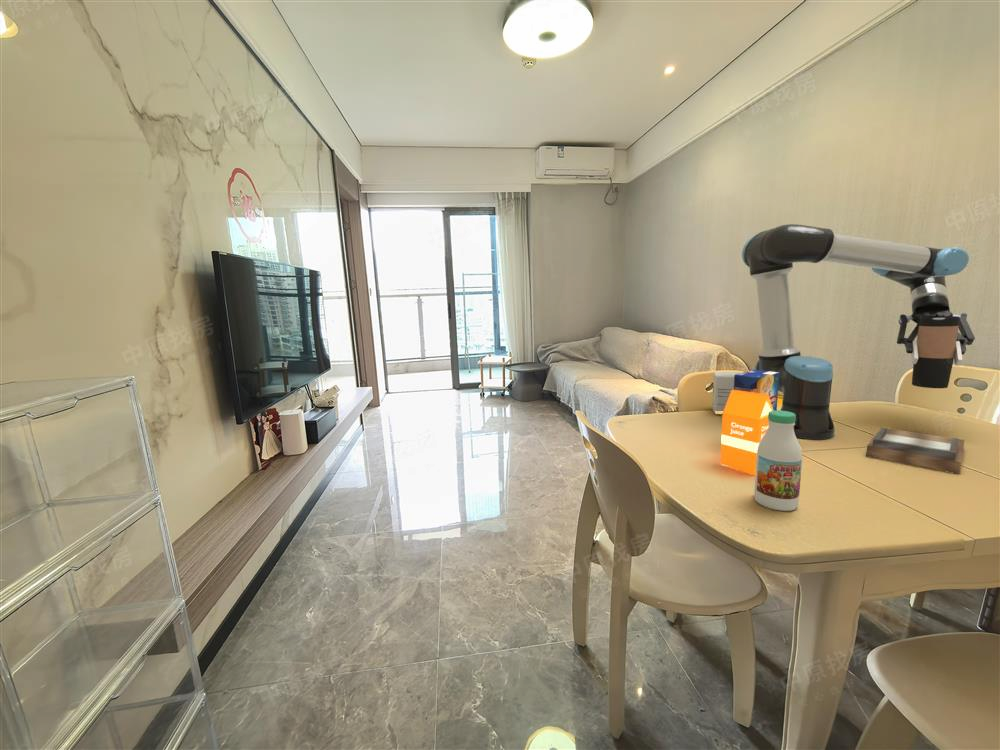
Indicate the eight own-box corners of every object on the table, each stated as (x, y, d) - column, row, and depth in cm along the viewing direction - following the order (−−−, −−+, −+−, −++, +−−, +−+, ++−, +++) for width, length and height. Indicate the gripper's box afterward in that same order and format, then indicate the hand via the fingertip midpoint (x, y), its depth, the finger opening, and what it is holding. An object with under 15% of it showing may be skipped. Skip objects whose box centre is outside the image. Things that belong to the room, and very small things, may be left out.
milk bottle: (745, 495, 86) (750, 409, 82) (778, 492, 86) (784, 406, 83) (772, 513, 78) (779, 419, 75) (808, 510, 79) (816, 416, 75)
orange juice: (755, 476, 95) (760, 397, 91) (719, 465, 102) (723, 391, 99) (771, 467, 99) (776, 392, 95) (735, 457, 106) (739, 387, 103)
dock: (865, 456, 102) (868, 438, 101) (880, 434, 116) (882, 418, 115) (959, 474, 90) (962, 453, 89) (963, 447, 104) (966, 429, 103)
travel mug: (930, 382, 116) (940, 315, 112) (957, 388, 108) (969, 316, 105) (902, 383, 117) (911, 317, 113) (927, 389, 109) (938, 318, 106)
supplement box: (711, 408, 153) (713, 371, 150) (738, 410, 149) (740, 372, 146) (714, 415, 144) (715, 376, 142) (742, 416, 141) (744, 376, 138)
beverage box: (774, 446, 112) (779, 372, 109) (756, 455, 107) (761, 377, 103) (749, 440, 118) (753, 369, 114) (730, 448, 112) (734, 374, 108)
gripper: (976, 309, 114) (987, 371, 105) (880, 311, 127) (883, 367, 117) (986, 291, 109) (999, 355, 100) (885, 295, 122) (888, 352, 112)
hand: (936, 361), depth 108 cm, fingers closed on travel mug, 8 cm apart
